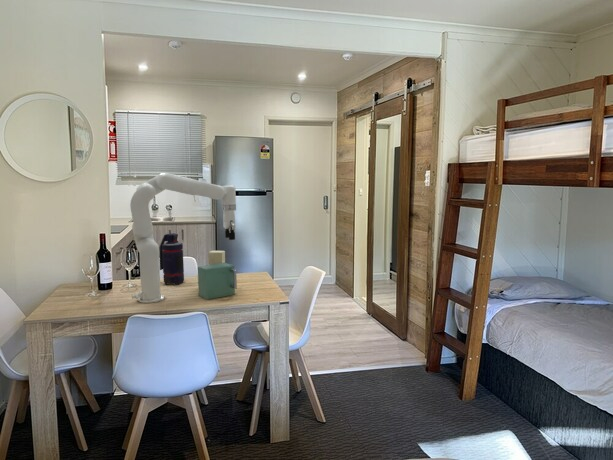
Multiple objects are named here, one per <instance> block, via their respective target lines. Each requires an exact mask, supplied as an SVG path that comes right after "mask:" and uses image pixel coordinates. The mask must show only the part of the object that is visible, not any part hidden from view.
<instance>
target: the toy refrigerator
mask: <svg viewBox="0 0 613 460" xmlns="http://www.w3.org/2000/svg"><path fill="white" fill-rule="evenodd" d="M207 255H208V265H210V264H218V263H226V251H225V250H210V251H208V254H207Z"/></svg>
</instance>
